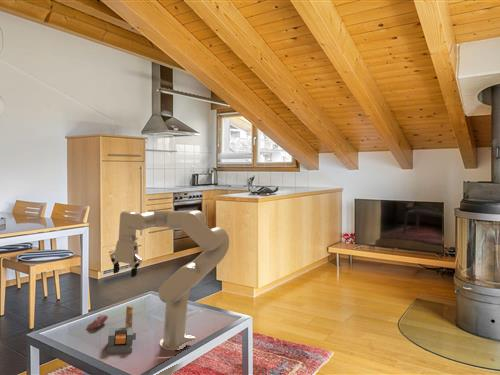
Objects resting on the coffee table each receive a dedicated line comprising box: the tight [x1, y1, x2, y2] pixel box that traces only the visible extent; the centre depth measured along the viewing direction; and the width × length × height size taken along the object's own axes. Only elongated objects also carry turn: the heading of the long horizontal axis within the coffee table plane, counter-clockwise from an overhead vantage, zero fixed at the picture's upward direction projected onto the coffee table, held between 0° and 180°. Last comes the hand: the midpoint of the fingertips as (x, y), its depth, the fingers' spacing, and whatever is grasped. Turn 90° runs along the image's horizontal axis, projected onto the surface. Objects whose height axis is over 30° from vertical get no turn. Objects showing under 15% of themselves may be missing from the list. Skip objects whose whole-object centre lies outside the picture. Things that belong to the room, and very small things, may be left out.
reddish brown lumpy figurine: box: [86, 314, 109, 330], centre depth 189 cm, size 10×5×7 cm
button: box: [115, 334, 126, 345], centre depth 170 cm, size 4×4×2 cm
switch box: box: [106, 326, 134, 354], centre depth 170 cm, size 10×10×7 cm
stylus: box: [124, 305, 134, 328], centre depth 180 cm, size 3×3×14 cm
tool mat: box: [133, 332, 137, 341], centre depth 180 cm, size 7×7×1 cm
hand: (124, 274), depth 182 cm, fingers open, 9 cm apart
